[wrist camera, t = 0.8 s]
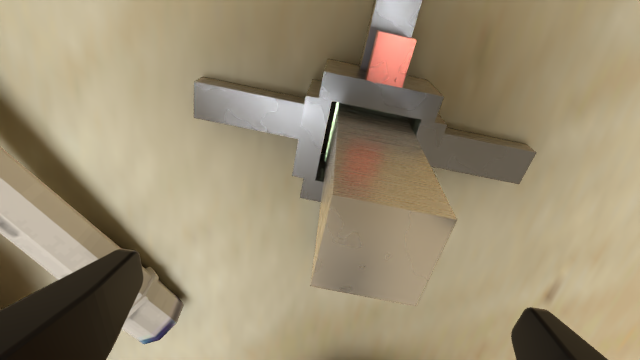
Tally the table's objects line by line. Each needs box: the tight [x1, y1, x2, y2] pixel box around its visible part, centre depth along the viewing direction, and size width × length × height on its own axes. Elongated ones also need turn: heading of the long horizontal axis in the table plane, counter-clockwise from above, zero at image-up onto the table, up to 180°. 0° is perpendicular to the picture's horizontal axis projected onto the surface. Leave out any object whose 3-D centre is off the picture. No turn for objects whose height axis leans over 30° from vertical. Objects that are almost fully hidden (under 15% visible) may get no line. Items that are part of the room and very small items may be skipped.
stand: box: [194, 0, 536, 202], centre depth 18 cm, size 19×19×4 cm
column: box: [310, 102, 457, 306], centre depth 14 cm, size 4×4×10 cm
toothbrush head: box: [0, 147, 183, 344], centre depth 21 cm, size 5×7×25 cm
